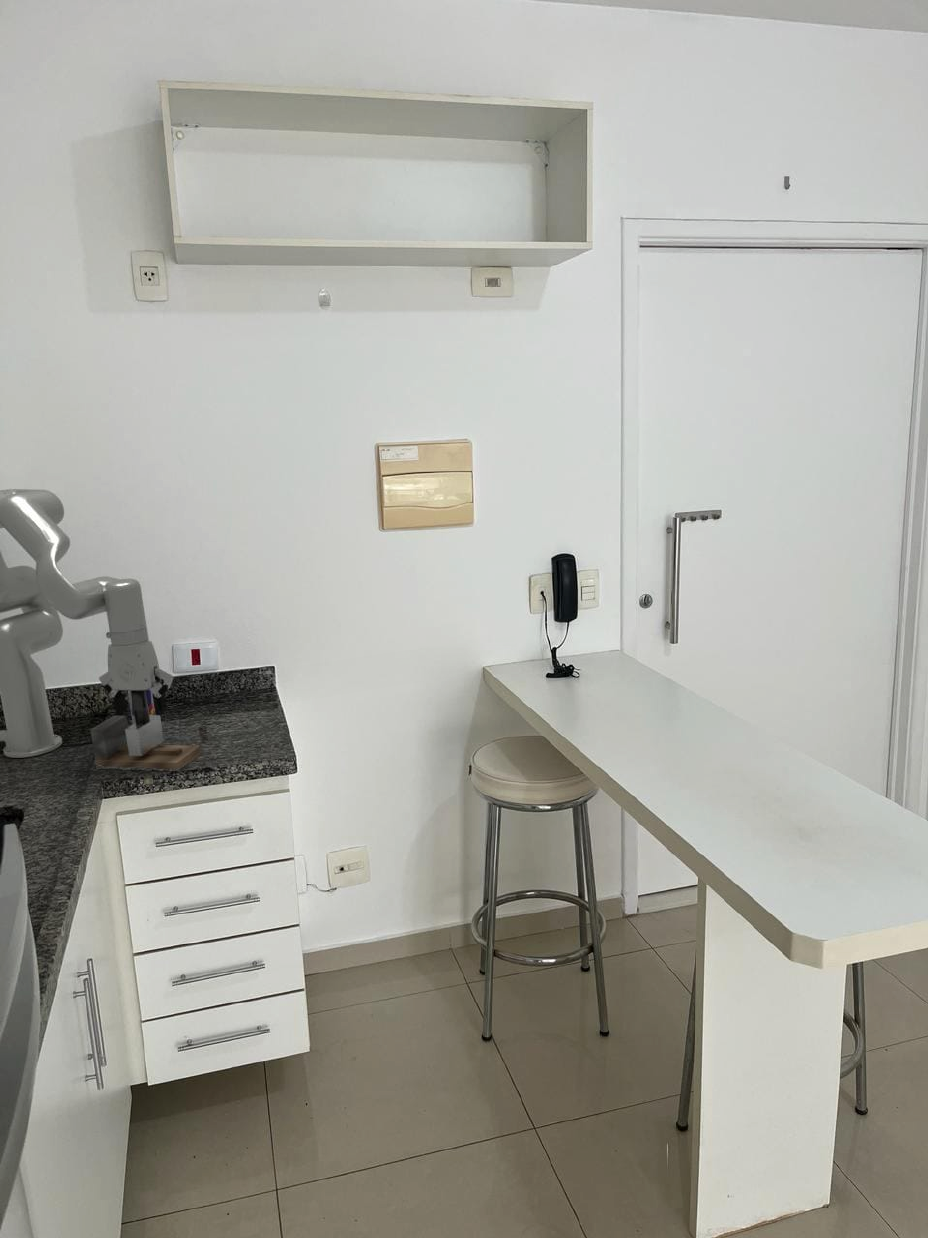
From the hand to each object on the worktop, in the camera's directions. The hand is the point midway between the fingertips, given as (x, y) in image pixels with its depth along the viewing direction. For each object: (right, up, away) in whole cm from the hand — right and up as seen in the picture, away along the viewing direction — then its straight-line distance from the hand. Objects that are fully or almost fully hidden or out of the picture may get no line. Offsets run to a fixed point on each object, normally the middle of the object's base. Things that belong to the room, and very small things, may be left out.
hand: (141, 713), depth 204 cm
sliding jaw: (+1, -8, +2) cm, 8 cm away
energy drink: (-6, -7, +21) cm, 23 cm away
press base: (+1, -11, +3) cm, 11 cm away
